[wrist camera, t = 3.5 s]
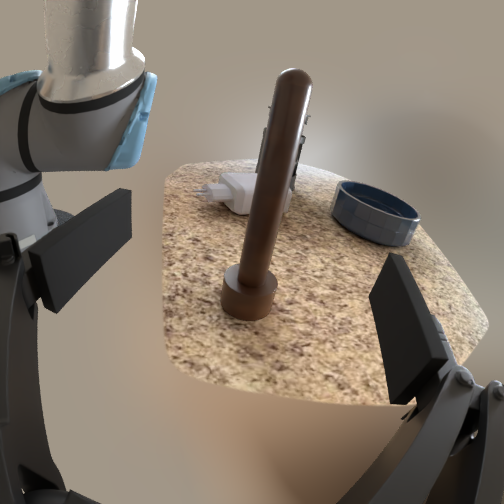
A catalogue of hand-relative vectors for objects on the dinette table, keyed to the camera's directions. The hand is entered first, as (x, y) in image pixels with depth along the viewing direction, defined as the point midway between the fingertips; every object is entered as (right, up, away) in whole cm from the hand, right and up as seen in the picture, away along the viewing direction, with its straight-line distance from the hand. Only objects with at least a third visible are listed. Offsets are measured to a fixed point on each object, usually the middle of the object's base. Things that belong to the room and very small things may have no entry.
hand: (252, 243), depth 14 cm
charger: (-3, +7, +35) cm, 36 cm away
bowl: (+23, +5, +39) cm, 46 cm away
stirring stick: (-1, -5, +14) cm, 15 cm away
